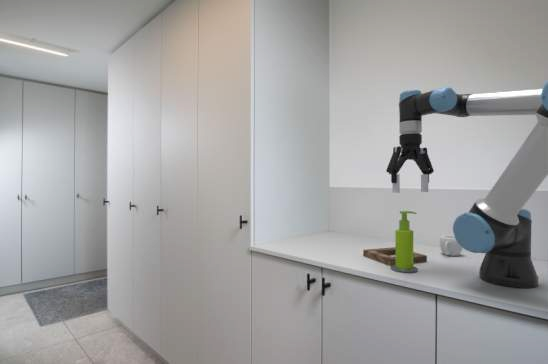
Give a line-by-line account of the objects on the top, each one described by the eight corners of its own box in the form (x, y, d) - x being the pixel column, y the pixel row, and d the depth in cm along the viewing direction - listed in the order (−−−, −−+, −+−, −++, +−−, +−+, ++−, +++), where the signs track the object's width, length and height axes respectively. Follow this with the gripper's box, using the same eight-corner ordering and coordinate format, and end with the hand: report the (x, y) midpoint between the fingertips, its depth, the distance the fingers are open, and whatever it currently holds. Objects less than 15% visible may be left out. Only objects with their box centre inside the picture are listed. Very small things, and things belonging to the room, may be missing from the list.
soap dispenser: (418, 270, 113) (418, 212, 113) (397, 269, 114) (397, 211, 114) (414, 265, 118) (414, 210, 118) (394, 265, 120) (394, 210, 120)
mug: (443, 251, 144) (443, 234, 144) (465, 254, 139) (465, 236, 139) (434, 256, 136) (434, 237, 136) (457, 259, 130) (457, 240, 130)
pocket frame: (426, 262, 126) (426, 255, 126) (390, 265, 121) (390, 259, 121) (396, 252, 142) (396, 247, 142) (363, 255, 137) (363, 249, 137)
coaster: (423, 271, 113) (423, 269, 113) (402, 274, 110) (402, 272, 110) (405, 265, 122) (405, 263, 122) (385, 267, 119) (385, 265, 119)
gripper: (427, 137, 128) (427, 191, 128) (375, 133, 118) (376, 192, 118) (444, 134, 121) (444, 191, 121) (390, 130, 111) (390, 193, 111)
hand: (410, 192), depth 120 cm, fingers open, 13 cm apart
